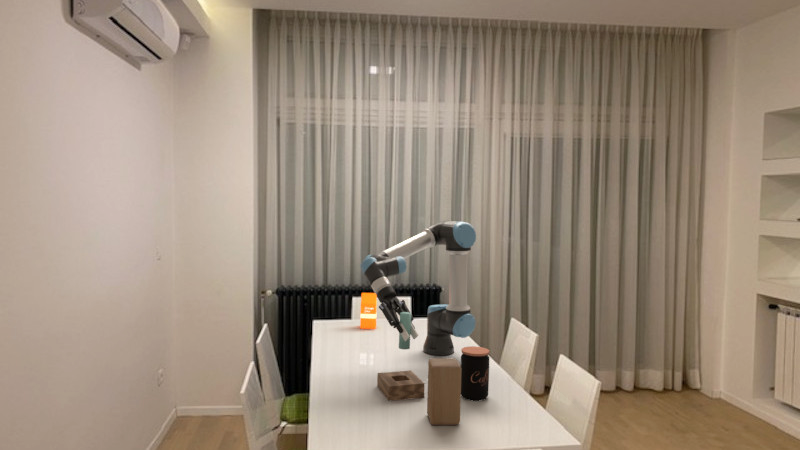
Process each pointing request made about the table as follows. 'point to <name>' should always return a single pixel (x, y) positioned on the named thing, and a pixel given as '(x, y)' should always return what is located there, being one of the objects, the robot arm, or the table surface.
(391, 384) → the socket block
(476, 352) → the coffee jar
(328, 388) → the table surface
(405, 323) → the pin
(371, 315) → the orange juice
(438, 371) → the wooden block
